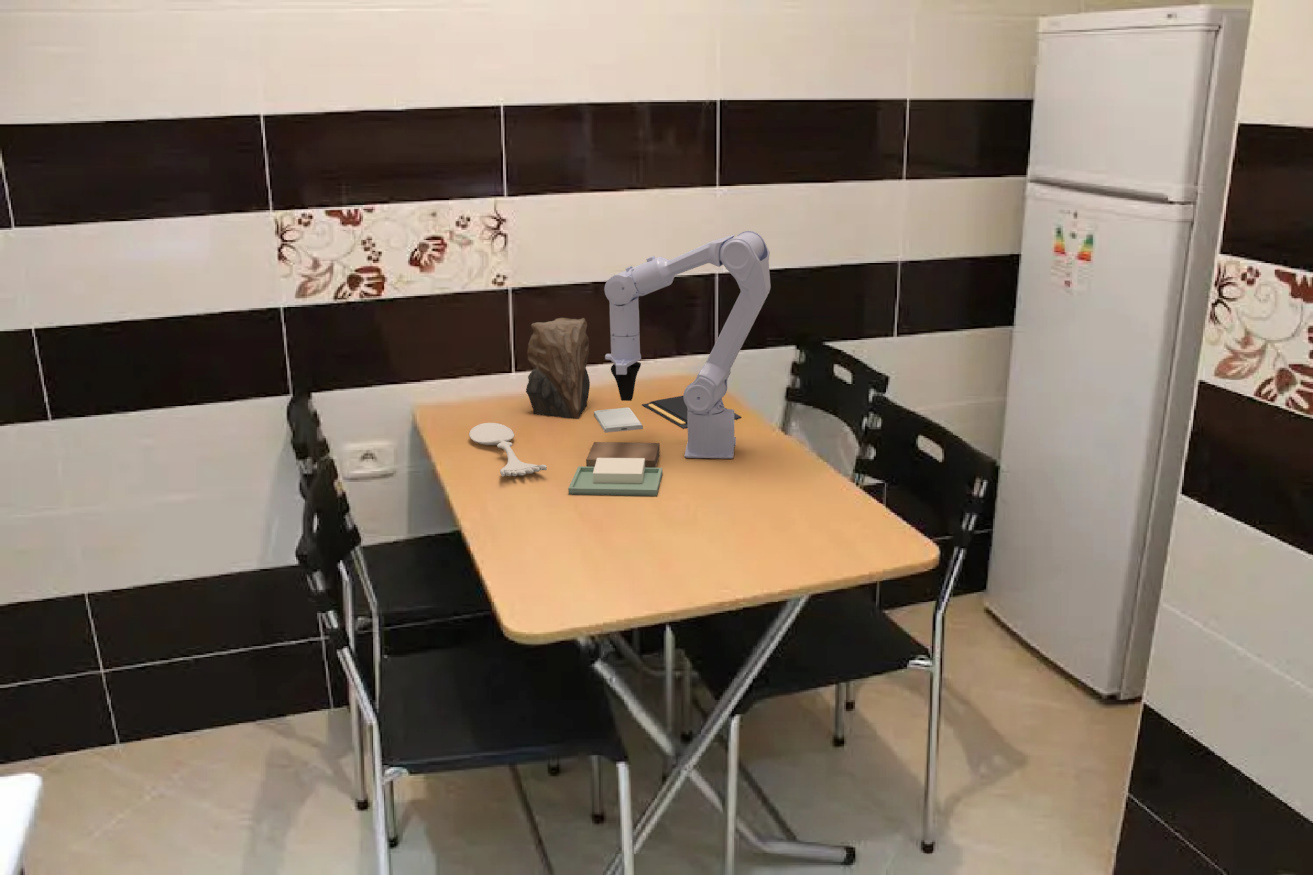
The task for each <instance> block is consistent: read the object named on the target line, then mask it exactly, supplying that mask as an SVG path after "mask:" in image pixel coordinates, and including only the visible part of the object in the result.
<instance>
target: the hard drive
mask: <svg viewBox="0 0 1313 875" xmlns="http://www.w3.org/2000/svg"><path fill="white" fill-rule="evenodd" d="M593 416H594V418H595V419H596V421H597V423H598V424H599V427H601V428H602V430H603V432H604V433H605V434H606V433H615V432H616V433H617V432H628V431H638V430H644V426H643V423H642V422H641V421H640V420H639V418H638V417H637V416H636V414H635V413H634V411H633V410H632V409H631V408H630V407H620V408H609V409H608V408H607V409H599V410H594V411H593Z"/></svg>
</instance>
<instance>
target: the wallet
mask: <svg viewBox="0 0 1313 875" xmlns="http://www.w3.org/2000/svg"><path fill="white" fill-rule="evenodd" d="M641 407H643V408H645V409H646V410H649V411H651V412H652V413H653V414H654V413H655V414H656V415H658V416H660V417H661V418H663V419H664V420H667V421H668V422H670V423H671V424H674V425H676V426H678V428H681V429H682V430H684V429H688V418H687V406H686V404H685V402H684V398H683V395H680V396H673V397H667V398H663V399H662V398H661V399H658V400H651V401H650V402H647V403H642V404H641ZM724 408H726V409H728V408H727V407H726V406H724ZM740 419H742V416H741V415H739V414H737V413H736V412H734V421H736V420H740Z"/></svg>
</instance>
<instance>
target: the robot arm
mask: <svg viewBox="0 0 1313 875" xmlns="http://www.w3.org/2000/svg"><path fill="white" fill-rule="evenodd" d="M770 254H771V252H770V250H769V248H768V246H767V243H766V241H765V240H764V238H763V236H762V235H761V234H759V232H756V231H754V230H744V231H742V232H740V233H739V234H737V235H736V234H732V235H728V236H727V235H726V236H724V237H721V238H717V239H713V240H711V241H709V242H707V243H704V244H702V245H700V246H698V247H697V246H696V247H695V248H693V249H691V250H689V251H686V252H684V253H682V254H680V255H677V256H675V257H673V258H670V259H667V258H666V257H663V256H657V257H656V256H655V255H652V256H649V257H647V258H646V261H645V262H643V263H640V264H639V265H636V266H632V265H629V266H627V267H625V270H623V271H620V272H619V273H617V274H614V275H612V276H611V277H610V278H609V279H607V281H606V282H605V285H604V294H605V297H606V299H607V300H608V301H609V328H610V329H609V332H610V352H611V353H606V354H605V355H604V360H609V361H611V362H612V363H613V364H612V365H611V367H610V372H611V374H612V375H613V377H614V380H615V382H616V385H617V389H618V394H619V397H620V400H621V401H622V402H623V401H625V402H630V401H633V397H634V393H635V386H636V385H635V384H636V380H637V376H638V373H639V371H640V369H641V366H642V363H641V362H639V361H641V360H642V354H641V345H640V344H641V343H640V340H641V339H640V338H641V337H640V335H641V334H640V309H639V304H640V303H639V297H643V296H646V295H648V294H651V293H654V292H656V291H659V290H661V289H664V288H666V287H668V286H671V285H672V284H673V281H674V279H675V277H676V276H678V275H679V274H682V273H685V272H688V271H690V270H693V269H696V268H698V267H702V266H705V265H707V264H711V265H714V266H716V267H718V268H720V267H721V266H723V267H724V268H725V269H726V270H727V271H728V273H730V275H731V276H732V277H733V278H734V279H735V281H736V282H737V283H736V284H737V285H738V289H740V293H739V295H738V297H737V298H736V301H735V303H734V304H733V307H732V309H731V310H730V313H729V315H728V316H727V319H726V321H725V323H724V324H723V327H722V329H721V332H720V333H719V336H718V338H717V339H716V341H715V343H714V345H713V347H712V349H711V351H710V353H709V356H708V358H707V360H706V362H705V363H704V364H703V366H702V367H701V369H700V371H699V372H698V373H697V375H696V377H695V379H694V380H693V381H692V382H691V383H689V384H688V385H687V386H686V387H685V389H684V392H683V395H682V396H683V398H684V402H685V404H686V406H687V418H688V428H687V443H686V446H685V451H684V458H689V459H733V458H734V455H735V454H734V452H735V447H736V446H737V437H736V436H735V420H734V413H735V409H732V408H731V409H730V408H727V407H725V405H724V401H723V398H724V396H725V395H726V394H727V391H728V379H729V377H730V375H731V369H732V367H733V366H734V363H735V360H737V359H736V358H737V357H738V355H739V353H740V351H741V349H742V347H743V345H744V343H745V341H746V339H747V337H748V335H749V333H750V331H751V329H752V327H753V326H754V323H755V321H756V319H757V317H758V315H759V314H760V311H761V310H762V308H763V305H764V304H765V302H766V299H767V298H768V295H769V294H770V291H771V276H770V275H771V274H770V263H769V262H770V261H769V260H770ZM724 407H725V408H724ZM726 408H727V409H726Z"/></svg>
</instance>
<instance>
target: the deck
mask: <svg viewBox="0 0 1313 875" xmlns="http://www.w3.org/2000/svg"><path fill="white" fill-rule="evenodd" d="M660 454H661V448H660V442H626V441H625V442H623V441H622V442H621V441H618V442H617V441H594V442H593V444H592V446H591V448H590V450H589V452H588V453H587V457H586V459H585V467H595V464H596V460H597V458H645V467H646V468H658V467H657V466H658V462H659V458H660Z"/></svg>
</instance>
